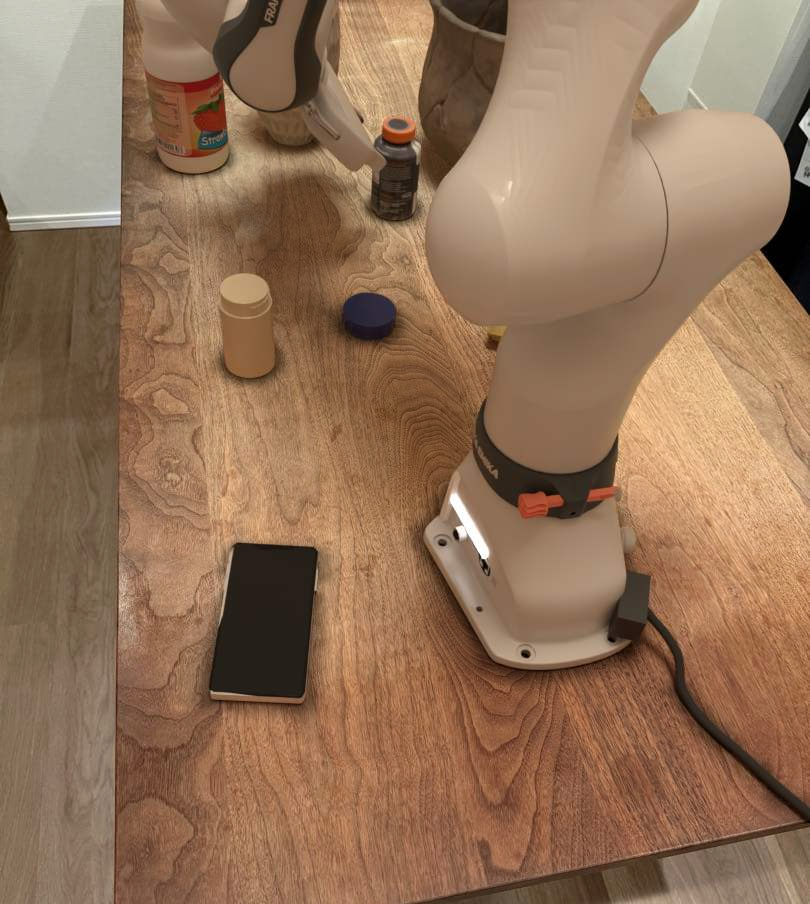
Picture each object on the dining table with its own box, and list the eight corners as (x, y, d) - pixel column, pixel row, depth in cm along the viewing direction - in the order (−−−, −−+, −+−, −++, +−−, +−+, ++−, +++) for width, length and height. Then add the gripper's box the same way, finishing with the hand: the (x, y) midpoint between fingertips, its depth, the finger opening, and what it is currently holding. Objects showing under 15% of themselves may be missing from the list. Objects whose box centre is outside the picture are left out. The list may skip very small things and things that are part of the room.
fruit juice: (167, 134, 120) (131, -108, 98) (235, 141, 120) (215, -99, 98) (150, 171, 115) (109, -77, 92) (222, 179, 115) (198, -66, 92)
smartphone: (205, 693, 70) (230, 541, 79) (207, 700, 71) (231, 549, 80) (306, 698, 70) (320, 546, 79) (306, 704, 71) (320, 554, 80)
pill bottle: (424, 206, 115) (433, 122, 106) (400, 227, 111) (407, 142, 102) (386, 189, 116) (391, 105, 107) (361, 210, 113) (364, 124, 104)
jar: (279, 375, 94) (275, 302, 86) (228, 380, 93) (219, 307, 85) (271, 341, 97) (267, 269, 89) (222, 346, 96) (213, 273, 88)
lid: (371, 298, 103) (372, 285, 101) (406, 325, 100) (407, 312, 99) (331, 319, 100) (331, 305, 98) (366, 347, 98) (367, 334, 96)
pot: (456, 100, 132) (476, -63, 115) (603, 147, 127) (647, -15, 110) (381, 178, 118) (391, 6, 101) (543, 235, 113) (583, 64, 96)
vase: (355, 145, 122) (363, -91, 100) (275, 168, 117) (264, -75, 95) (309, 103, 128) (306, -129, 105) (230, 123, 123) (210, -116, 100)
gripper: (332, 91, 89) (415, 171, 99) (286, 2, 100) (365, 82, 110) (290, 138, 91) (375, 211, 101) (249, 45, 102) (330, 120, 112)
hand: (369, 143), depth 106 cm, fingers open, 8 cm apart
